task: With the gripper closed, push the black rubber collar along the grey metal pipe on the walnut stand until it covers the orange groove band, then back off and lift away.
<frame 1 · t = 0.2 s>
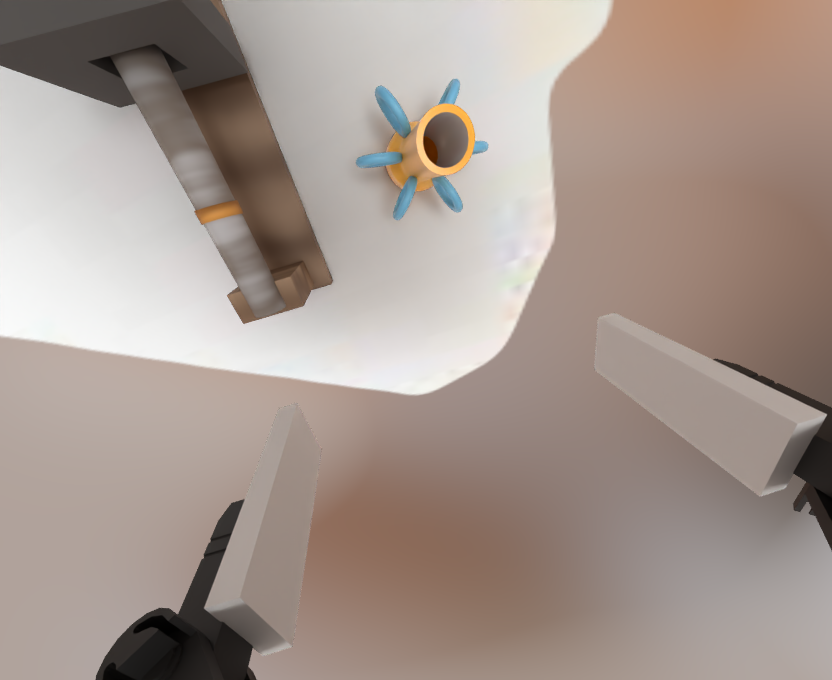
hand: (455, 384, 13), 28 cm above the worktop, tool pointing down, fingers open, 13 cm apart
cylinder: (411, 162, 33), on the worktop
collar: (127, 36, 20), point 9 cm above the worktop, slide at 0.0 cm
pipe stand: (234, 166, 31), on the worktop
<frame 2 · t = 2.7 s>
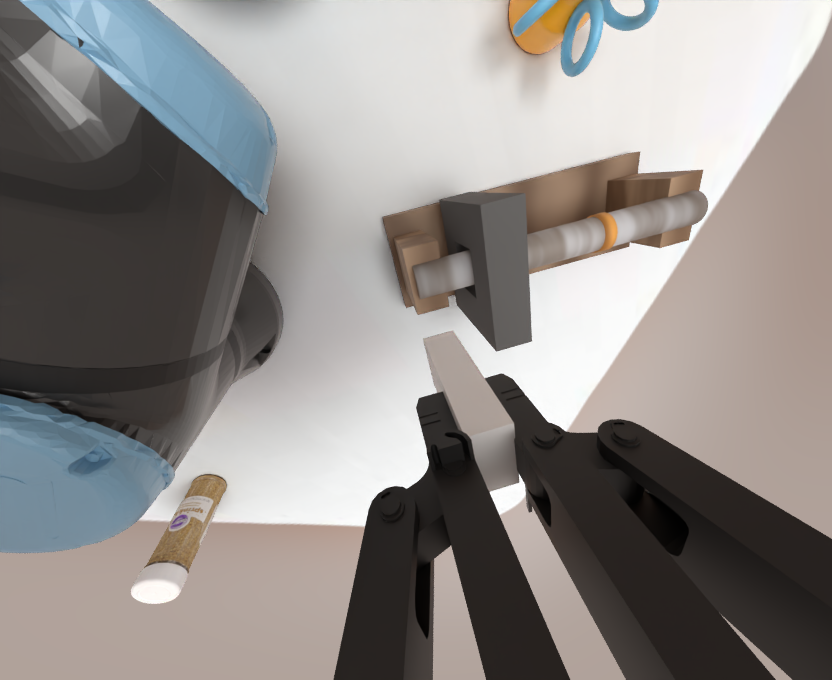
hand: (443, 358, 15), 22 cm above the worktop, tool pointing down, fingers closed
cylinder: (538, 12, 27), on the worktop
collar: (481, 264, 26), point 9 cm above the worktop, slide at 0.0 cm
sprinkles bottle: (210, 483, 44), on the worktop
pipe stand: (511, 232, 35), on the worktop
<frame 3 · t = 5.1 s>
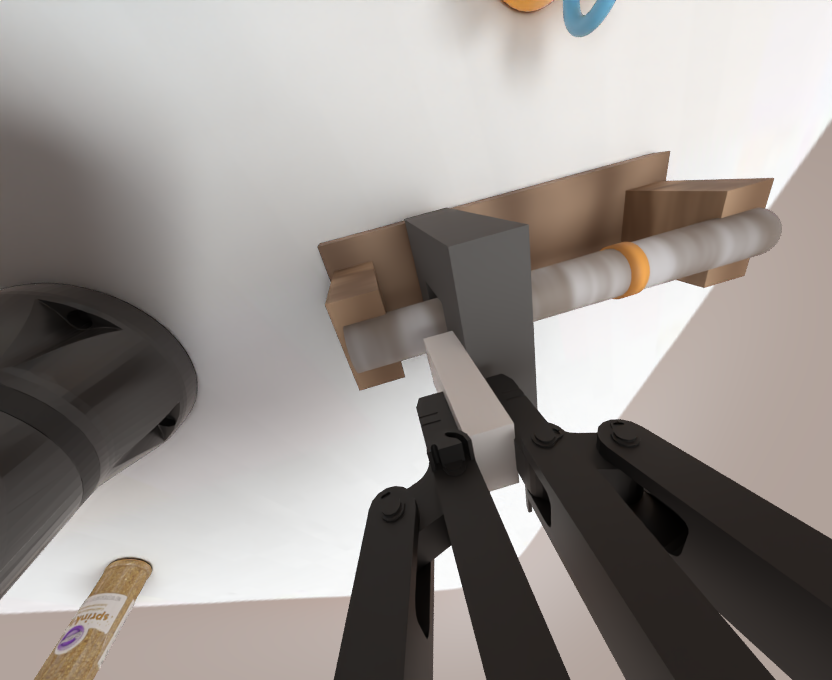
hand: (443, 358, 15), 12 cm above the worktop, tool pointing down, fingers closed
collar: (463, 316, 18), point 9 cm above the worktop, slide at 0.9 cm, touching gripper
sprinkles bottle: (131, 566, 35), on the worktop
pipe stand: (497, 258, 26), on the worktop
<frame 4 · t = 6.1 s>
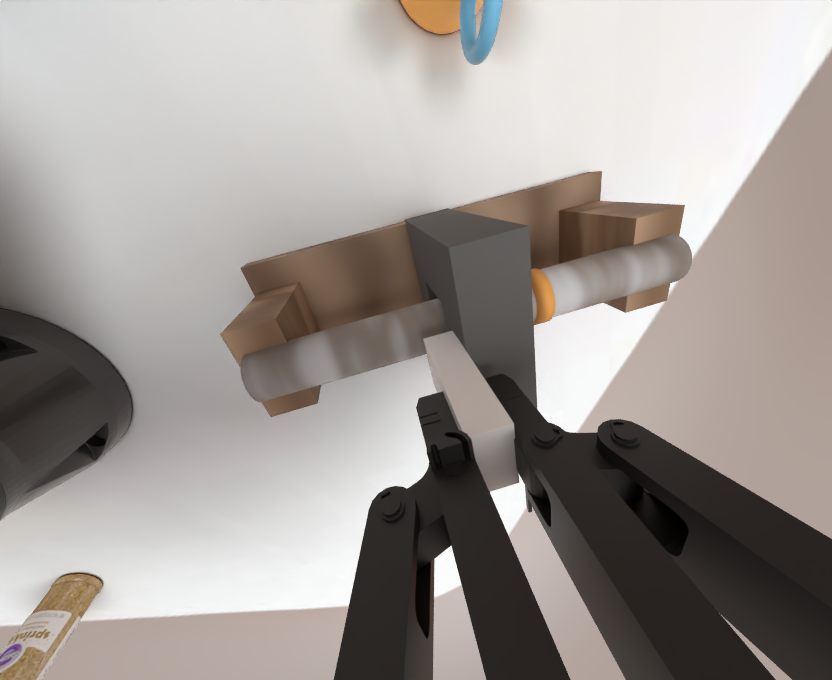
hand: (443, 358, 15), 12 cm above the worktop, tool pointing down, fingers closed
collar: (463, 317, 18), point 9 cm above the worktop, slide at 6.7 cm, touching gripper
sprinkles bottle: (81, 581, 35), on the worktop
pipe stand: (435, 277, 26), on the worktop
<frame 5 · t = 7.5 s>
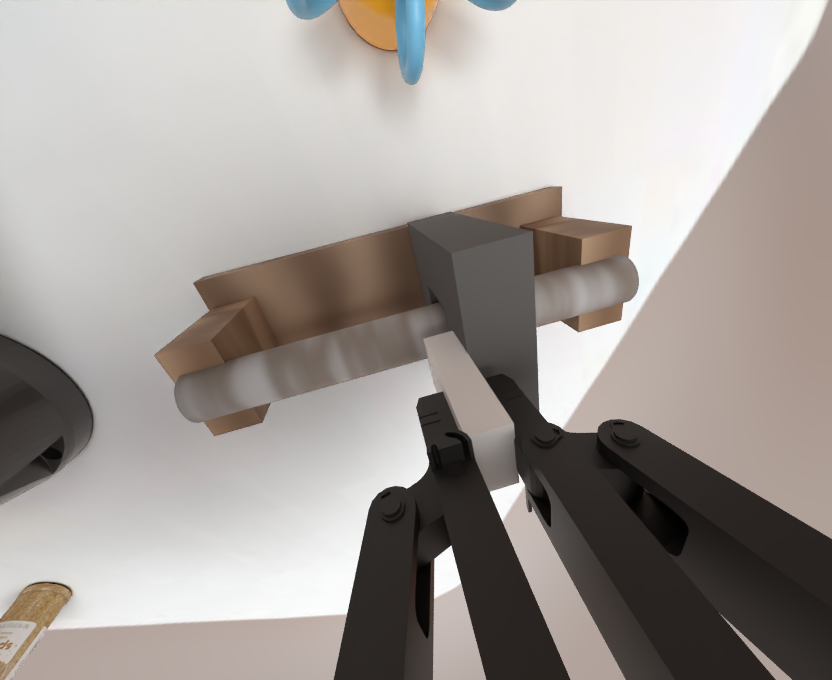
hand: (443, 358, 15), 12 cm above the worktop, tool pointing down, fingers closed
collar: (465, 321, 18), point 9 cm above the worktop, slide at 10.2 cm, touching gripper
sprinkles bottle: (50, 590, 35), on the worktop
pipe stand: (397, 290, 26), on the worktop
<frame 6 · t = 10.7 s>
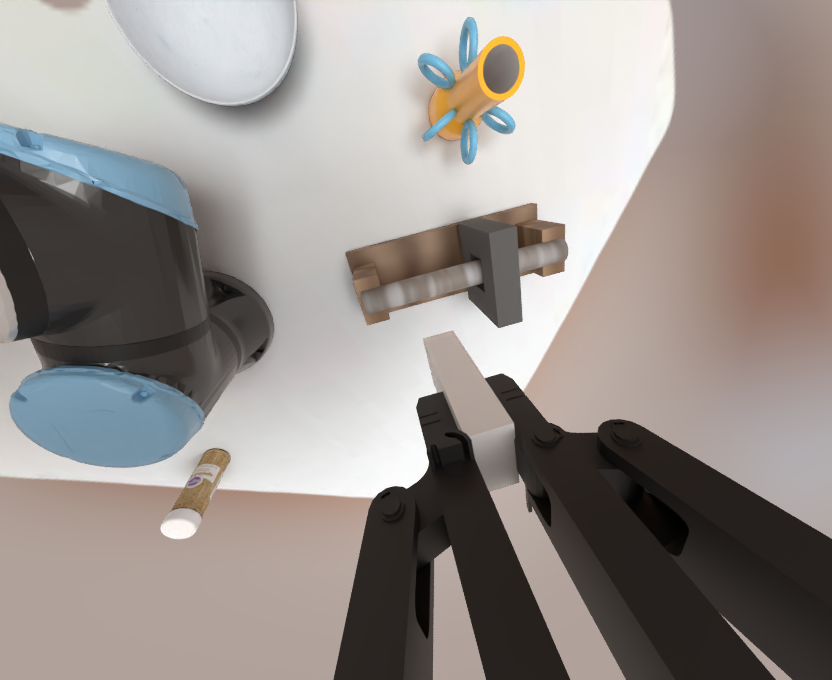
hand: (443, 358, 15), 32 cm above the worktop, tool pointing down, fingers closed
chinaware: (235, 35, 32), on the worktop
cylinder: (451, 112, 38), on the worktop
collar: (488, 269, 38), point 9 cm above the worktop, slide at 10.2 cm
sprinkles bottle: (217, 456, 55), on the worktop
pipe stand: (446, 261, 46), on the worktop
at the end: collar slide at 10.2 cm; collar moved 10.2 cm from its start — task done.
